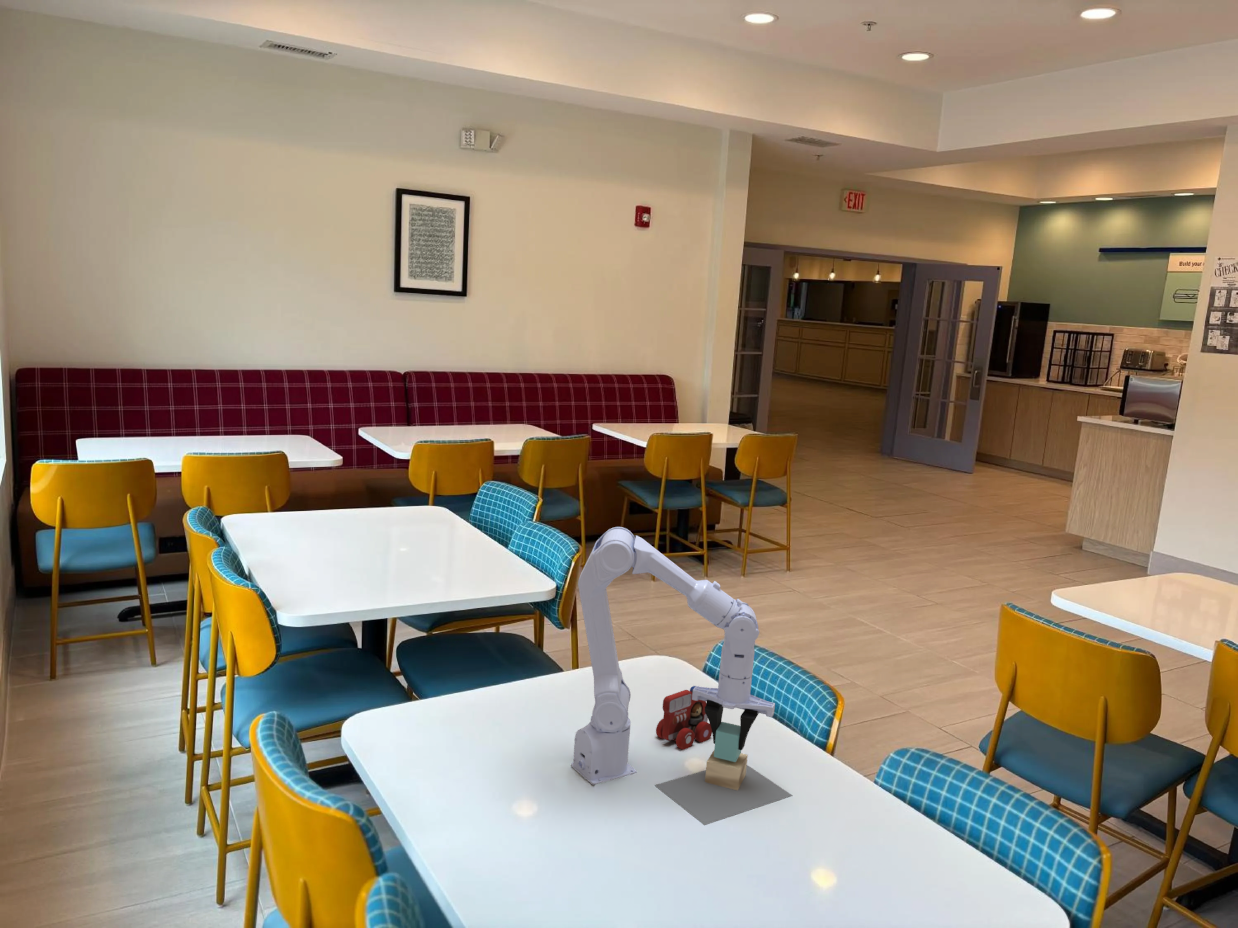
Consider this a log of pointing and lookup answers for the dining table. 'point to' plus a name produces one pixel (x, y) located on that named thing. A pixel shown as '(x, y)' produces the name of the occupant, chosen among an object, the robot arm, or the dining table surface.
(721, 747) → the teal brick
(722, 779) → the base block
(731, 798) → the mat
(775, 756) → the dining table surface
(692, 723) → the toy fire truck
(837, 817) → the dining table surface
